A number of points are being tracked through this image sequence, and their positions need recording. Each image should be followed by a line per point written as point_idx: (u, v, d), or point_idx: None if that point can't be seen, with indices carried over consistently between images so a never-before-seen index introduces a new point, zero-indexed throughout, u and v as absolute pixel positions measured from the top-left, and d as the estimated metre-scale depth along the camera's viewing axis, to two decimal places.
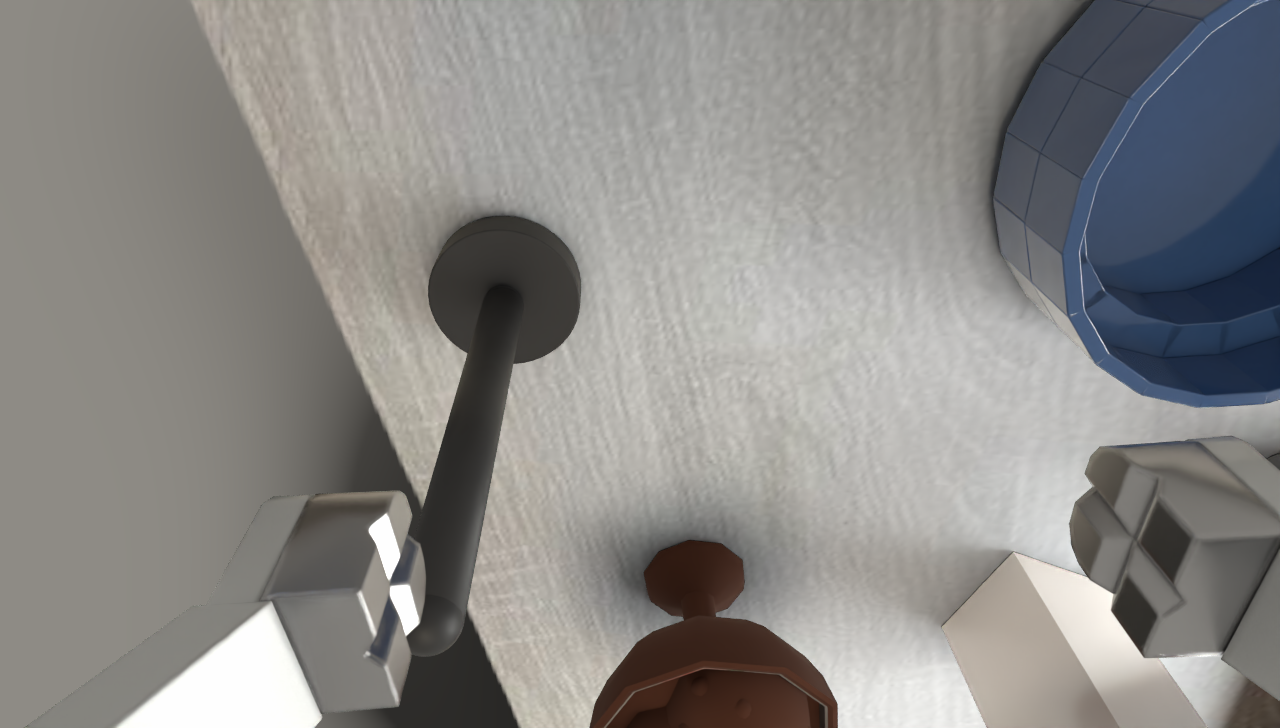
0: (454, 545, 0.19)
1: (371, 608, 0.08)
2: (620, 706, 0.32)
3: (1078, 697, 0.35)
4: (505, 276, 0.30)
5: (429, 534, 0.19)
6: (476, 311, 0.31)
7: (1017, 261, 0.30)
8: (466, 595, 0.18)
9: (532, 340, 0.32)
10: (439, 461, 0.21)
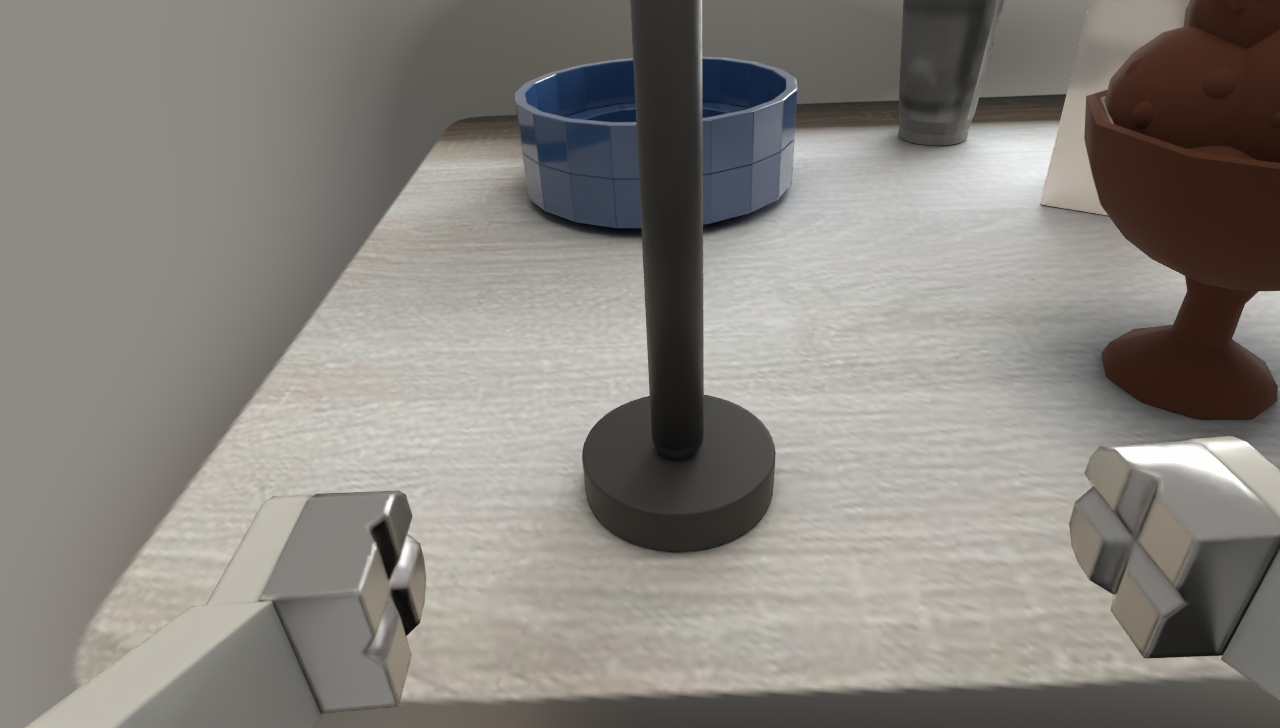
0: None
1: (370, 608, 0.08)
2: (1246, 161, 0.21)
3: (1099, 50, 0.38)
4: (645, 441, 0.25)
5: None
6: (687, 472, 0.23)
7: (703, 195, 0.41)
8: None
9: (740, 432, 0.25)
10: (640, 97, 0.18)
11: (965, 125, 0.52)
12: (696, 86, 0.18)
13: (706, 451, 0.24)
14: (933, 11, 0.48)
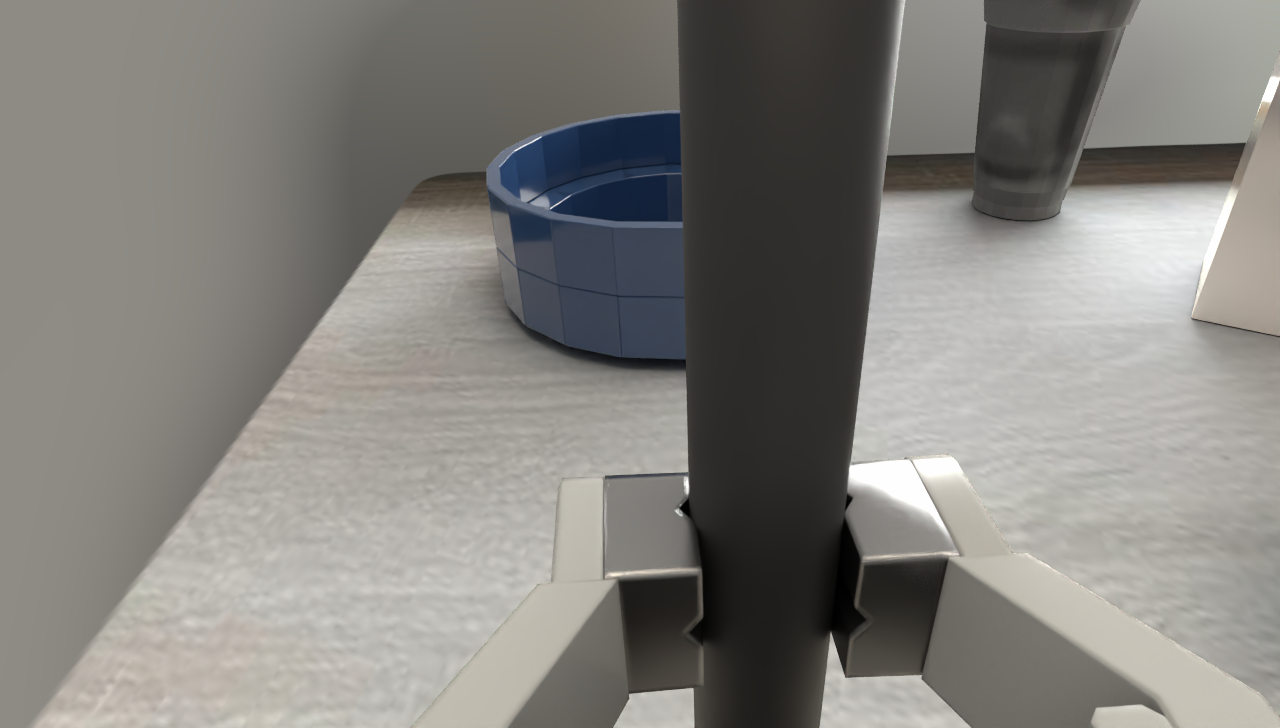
0: None
1: (701, 587, 0.08)
2: None
3: None
4: None
5: (680, 66, 0.06)
6: None
7: None
8: None
9: None
10: (704, 424, 0.07)
11: (1061, 195, 0.41)
12: (852, 402, 0.07)
13: None
14: (1029, 55, 0.37)
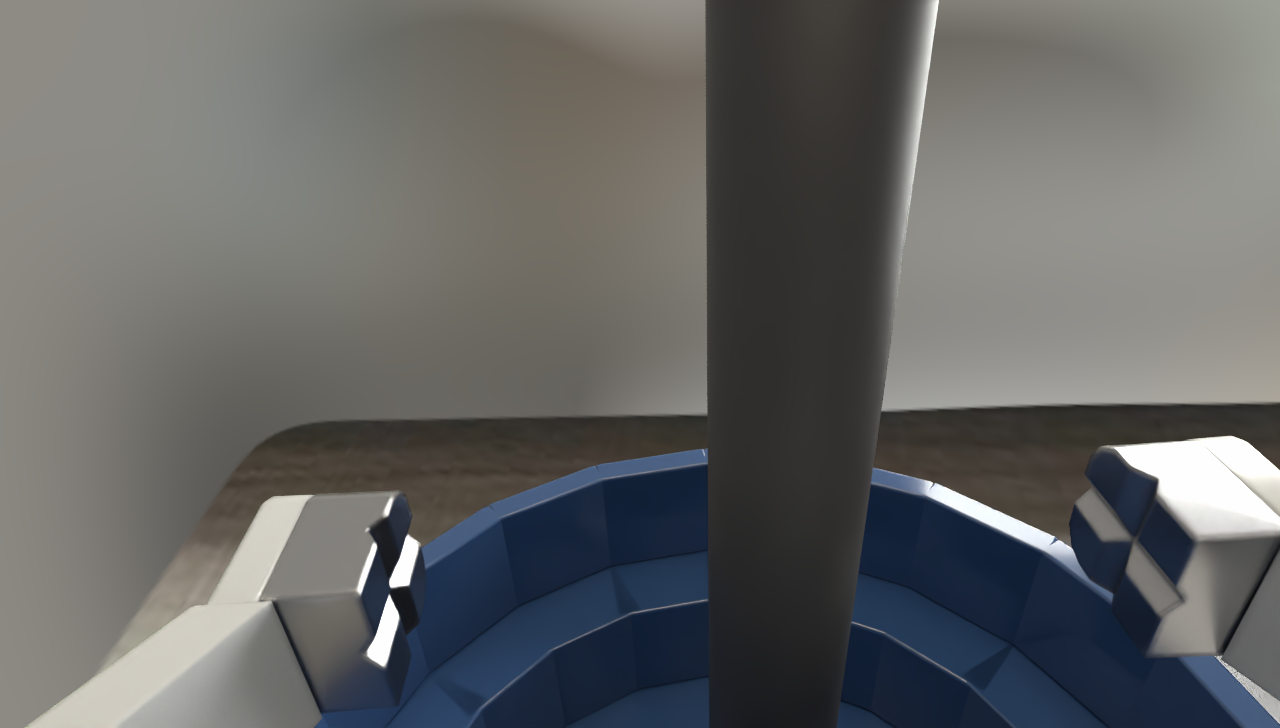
0: None
1: (370, 607, 0.08)
2: None
3: None
4: None
5: (708, 110, 0.06)
6: None
7: None
8: None
9: None
10: (725, 458, 0.07)
11: None
12: (873, 436, 0.07)
13: None
14: None
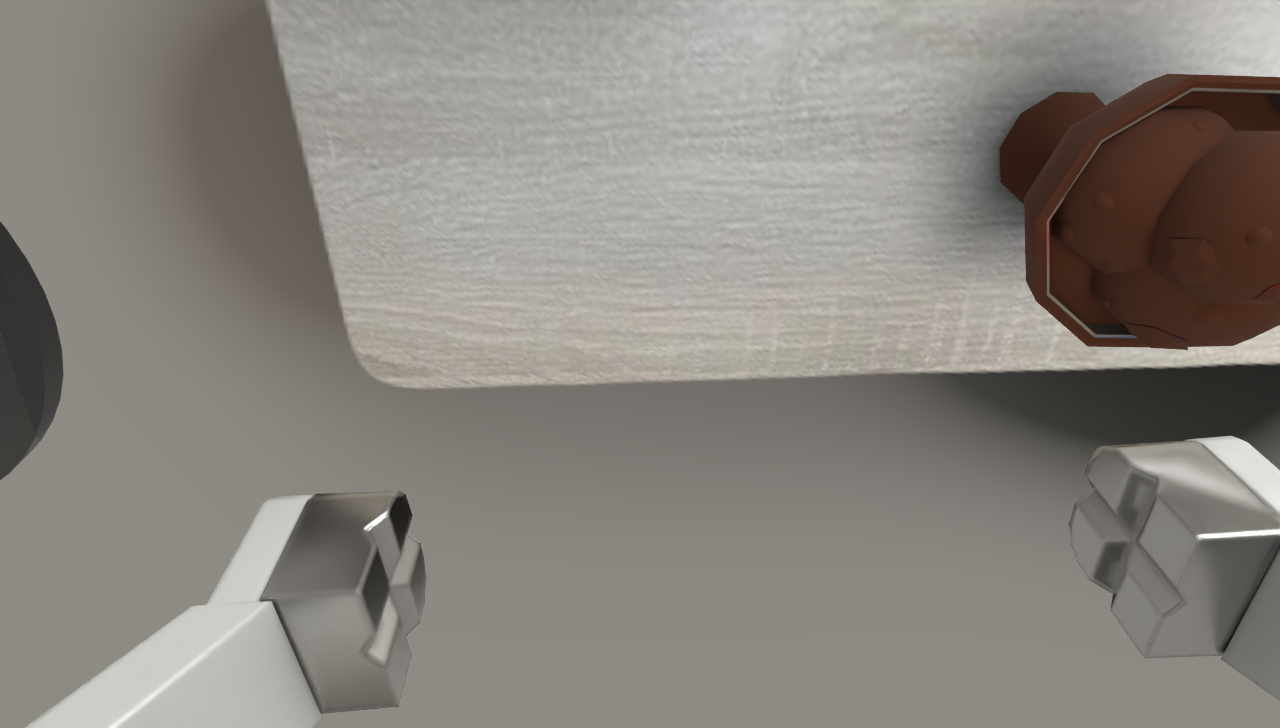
0: None
1: (370, 608, 0.08)
2: (1063, 309, 0.31)
3: None
4: None
5: None
6: None
7: None
8: None
9: None
10: None
11: None
12: None
13: None
14: None
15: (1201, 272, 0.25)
